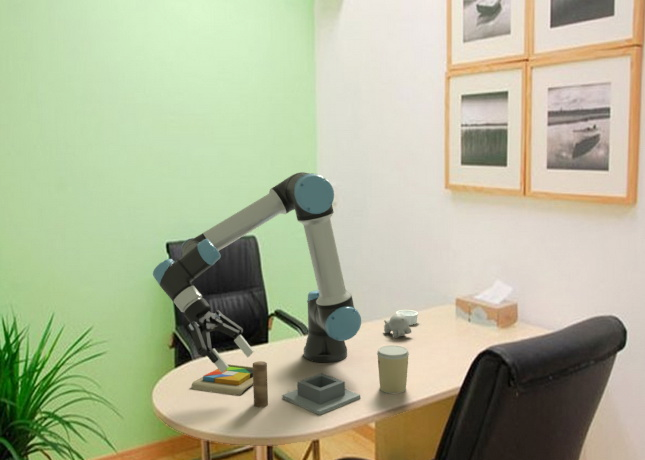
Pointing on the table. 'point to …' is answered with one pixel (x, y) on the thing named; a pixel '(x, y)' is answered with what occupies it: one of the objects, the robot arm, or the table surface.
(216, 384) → the wooden puzzle
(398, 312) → the ramekin
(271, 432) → the table surface
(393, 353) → the coffee cup
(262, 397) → the peg
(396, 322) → the toy rhinoceros
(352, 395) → the socket
